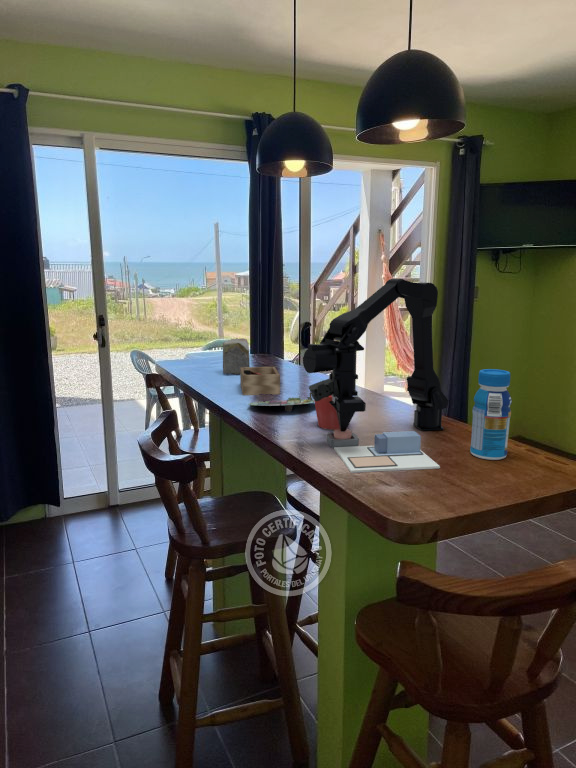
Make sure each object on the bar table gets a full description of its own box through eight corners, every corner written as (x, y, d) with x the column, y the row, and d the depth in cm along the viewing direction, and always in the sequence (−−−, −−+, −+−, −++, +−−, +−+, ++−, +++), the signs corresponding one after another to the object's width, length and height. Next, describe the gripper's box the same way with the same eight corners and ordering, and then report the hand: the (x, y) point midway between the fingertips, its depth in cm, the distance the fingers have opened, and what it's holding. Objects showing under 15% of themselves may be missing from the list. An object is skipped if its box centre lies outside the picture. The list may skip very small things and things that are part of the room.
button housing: (352, 439, 139) (352, 431, 139) (359, 447, 133) (359, 439, 132) (325, 440, 138) (326, 432, 138) (331, 448, 132) (331, 440, 131)
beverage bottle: (462, 453, 128) (467, 370, 124) (482, 447, 133) (488, 366, 129) (494, 463, 121) (501, 376, 117) (514, 456, 126) (522, 371, 122)
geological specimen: (224, 376, 225) (223, 340, 222) (222, 373, 231) (221, 338, 228) (250, 374, 228) (249, 339, 225) (247, 372, 234) (246, 337, 231)
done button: (348, 439, 138) (349, 428, 137) (353, 444, 134) (353, 433, 133) (332, 440, 137) (332, 428, 137) (335, 445, 133) (336, 433, 132)
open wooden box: (274, 384, 208) (274, 366, 206) (279, 394, 191) (279, 374, 190) (240, 385, 206) (240, 367, 204) (243, 395, 189) (242, 375, 188)
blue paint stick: (413, 447, 131) (414, 431, 130) (420, 452, 127) (420, 436, 126) (373, 448, 129) (374, 432, 129) (378, 454, 126) (379, 437, 125)
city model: (308, 402, 188) (307, 385, 188) (336, 410, 166) (335, 390, 166) (238, 410, 180) (237, 392, 180) (259, 419, 158) (257, 398, 158)
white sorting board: (413, 445, 134) (413, 442, 134) (439, 468, 118) (440, 465, 118) (334, 449, 131) (334, 446, 131) (350, 472, 116) (350, 469, 116)
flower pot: (327, 419, 159) (327, 386, 157) (359, 425, 152) (360, 391, 150) (305, 426, 151) (305, 392, 149) (337, 434, 144) (338, 398, 142)
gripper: (305, 364, 140) (304, 422, 143) (319, 377, 122) (318, 444, 125) (347, 363, 141) (345, 420, 144) (367, 376, 123) (365, 442, 126)
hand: (342, 431), depth 135 cm, fingers closed, pressing on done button
